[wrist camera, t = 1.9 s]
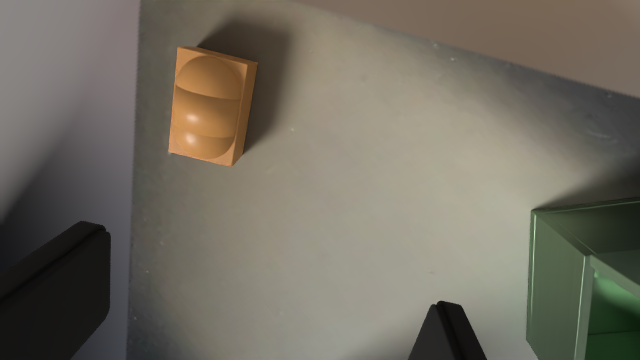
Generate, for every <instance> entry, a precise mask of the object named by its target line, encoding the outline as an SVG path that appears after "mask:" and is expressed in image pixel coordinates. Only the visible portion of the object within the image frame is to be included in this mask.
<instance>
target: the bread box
mask: <svg viewBox="0 0 640 360" xmlns="http://www.w3.org/2000/svg"><path fill="white" fill-rule="evenodd" d="M639 249H640V197H637V198H629V199H621V200H613V201H604V202H596V203H588V204H580V205H572V206H564V207H556V208H548V209H539V210H532V211H531V226H530V253H529V279H528V306H527V332H526V340H527V342H528V343H529V345H530V346H531V348H532V350H533V351H534V353H535V354H536V356H537V357H538V359H539V360H640V300H639V299H638V298H636V297H635V296H633V295H632V294H631V293H629V292H628V291H626V290H625V289H623V288H622V287H620V286H619V285H617V284H616V283H615V282H613V281H612V280H610V279H609V278H607V277H606V276H604V275H603V274H601V273H600V272H599V271H597V270H596V269H594V268H593V267H591V265H590V256H591V255H593V254H602V253H611V252H620V251H630V250H639Z"/></svg>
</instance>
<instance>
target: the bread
mask: <svg viewBox="0 0 640 360" xmlns="http://www.w3.org/2000/svg"><path fill="white" fill-rule="evenodd" d="M257 65H258V63H257V62H254V61H250V60H246V59H242V58H238V57H234V56H230V55H226V54H222V53H218V52H214V51H210V50H206V49H203V48H199V47H178V51H177V62H176V73H175V84H174V95H173V107H172V118H171V129H170V140H169V152H172V153H176V154H180V155H184V156H189V157H193V158H197V159H201V160H205V161H209V162H213V163H217V164H221V165H225V166H229V167H232V166H233V165H234V164H235V163H236V161H237V160H238V159H239V158H240V157H241V156H242V154H243V148H244V142H245V136H246V130H247V124H248V119H249V113H250V107H251V101H252V95H253V89H254V83H255V77H256V71H257Z"/></svg>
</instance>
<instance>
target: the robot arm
mask: <svg viewBox="0 0 640 360" xmlns="http://www.w3.org/2000/svg"><path fill="white" fill-rule="evenodd" d="M110 242H111V236H110V233H109V232H106V229H105V227H104V226H103V225H99V224H95V223H90V222H86V221H80V222H78V223H76V224H75V225H73V226H72V227H70V228H69V229H67V230H66V231H64V232H63V233H61V234H60V235H58V236H57V237H55V238H54V239H52V240H51V241H49V242H47V243H46V244H44V245H43V246H42V247H40V248H39V249H37V250H36V251H34V252H32V253H31V254H29V255H28V256H27V257H25V258H23V259H22V260H20V261H19V262H17V263H16V264H14V265H13V266H11V267H10V268H8V269H7V270H5V271H4V272H2V273H1V274H0V360H70V359H71V358H72V357H73V356H74V354H75V353H76V352H77V351H78V350H79V349H80V347H81V346H82V345H83V344H84V343H85V342H86V341H87V339H88V338H89V337H90V336H91V335H92V334H93V333H94V331H95V330H96V329H97V328H98V327H99V326H100V324H101V323H102V322H103V321H104V320H105V318H106V316H107V314H108V312H109V308H110V249H111V243H110ZM408 360H487V358H486V356H485V354H484V352H483V350H482V348H481V346H480V344H479V341H478V339H477V337H476V335H475V333H474V331H473V329H472V327H471V325H470V322H469V320H468V318H467V316H466V314H465V312H464V310H463V308H462V306H461V305H459V304H454V303H450V302H445V301H439V302H438V303H437V305H435V304H432V305H431V307H430V308H429V311H428V313H427V316H426V318H425V320H424V323H423V325H422V327H421V330H420V332H419V335H418V337H417V339H416V342H415V344H414V347H413V349H412V351H411V354H410V356H409V358H408Z"/></svg>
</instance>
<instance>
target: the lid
mask: <svg viewBox="0 0 640 360" xmlns="http://www.w3.org/2000/svg"><path fill="white" fill-rule="evenodd" d="M590 265H591V267H593V268H594V269H596V270H597V271H599V272H600V273H601V274H603V275H604V276H606V277H607V278H609V279H610V280H612V281H613V282H615V283H616V284H617V285H619V286H620V287H622V288H623V289H625V290H626V291H628V292H629V293H631V294H632V295H633V296H635V297H636V298H638V299H639V300H640V249H639V250H630V251H620V252H611V253H602V254H593V255H591V256H590Z"/></svg>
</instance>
